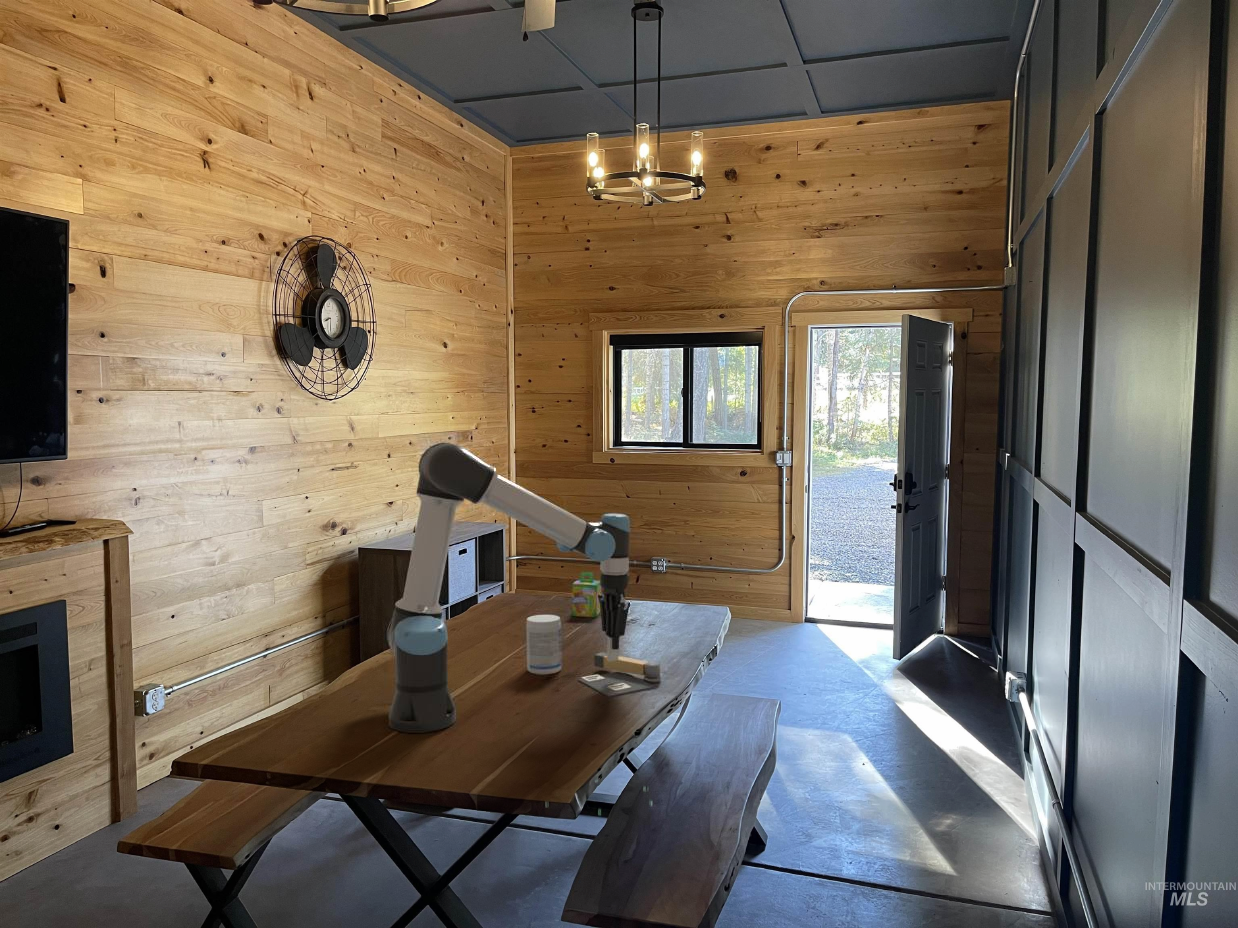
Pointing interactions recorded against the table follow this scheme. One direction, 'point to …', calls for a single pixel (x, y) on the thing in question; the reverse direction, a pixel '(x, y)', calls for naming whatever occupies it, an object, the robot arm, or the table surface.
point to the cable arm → (628, 665)
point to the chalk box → (586, 596)
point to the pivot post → (652, 680)
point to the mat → (617, 679)
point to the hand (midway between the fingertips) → (612, 660)
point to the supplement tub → (543, 644)
